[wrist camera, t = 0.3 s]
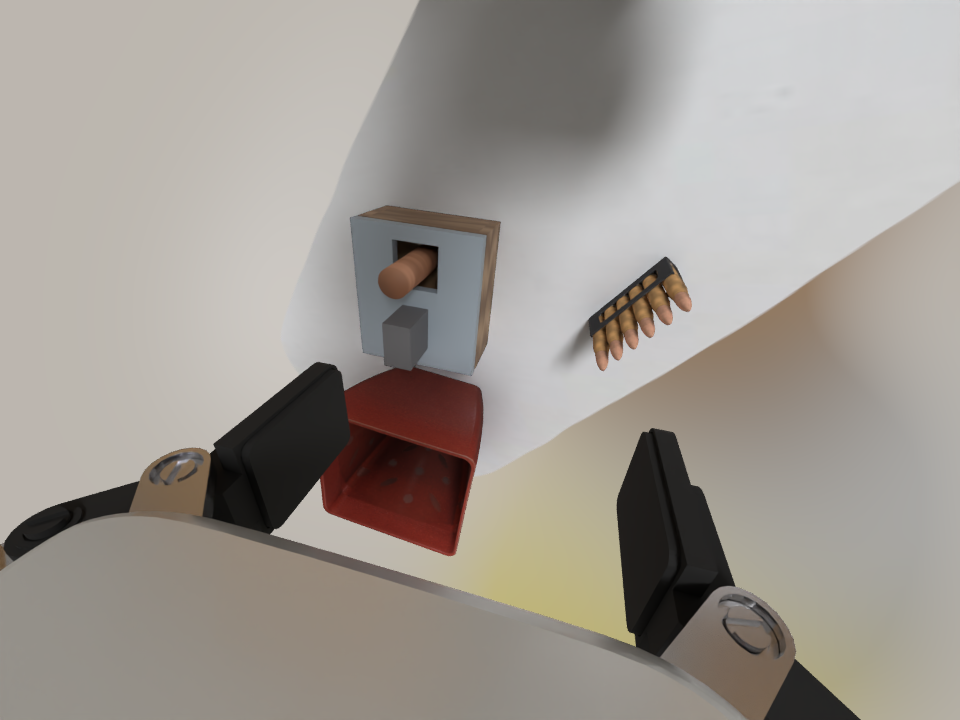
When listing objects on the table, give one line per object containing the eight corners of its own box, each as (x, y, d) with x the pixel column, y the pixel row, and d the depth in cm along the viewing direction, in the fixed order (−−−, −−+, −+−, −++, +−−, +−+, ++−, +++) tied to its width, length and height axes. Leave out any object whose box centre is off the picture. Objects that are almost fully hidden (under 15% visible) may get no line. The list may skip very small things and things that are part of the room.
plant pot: (379, 432, 65) (322, 513, 51) (381, 339, 55) (310, 408, 41) (484, 465, 63) (454, 559, 49) (507, 374, 53) (477, 460, 38)
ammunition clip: (598, 329, 46) (601, 381, 36) (588, 318, 46) (588, 369, 36) (677, 267, 40) (706, 310, 30) (666, 255, 40) (691, 295, 30)
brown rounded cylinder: (426, 235, 44) (376, 265, 34) (450, 239, 44) (407, 270, 33) (426, 260, 46) (378, 296, 35) (449, 264, 45) (408, 301, 35)
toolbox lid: (356, 215, 39) (320, 227, 34) (486, 235, 36) (470, 251, 31) (367, 348, 47) (340, 373, 42) (474, 370, 45) (459, 400, 40)
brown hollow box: (386, 205, 45) (357, 215, 39) (500, 221, 42) (487, 234, 37) (391, 325, 53) (368, 347, 47) (487, 343, 51) (474, 369, 45)
